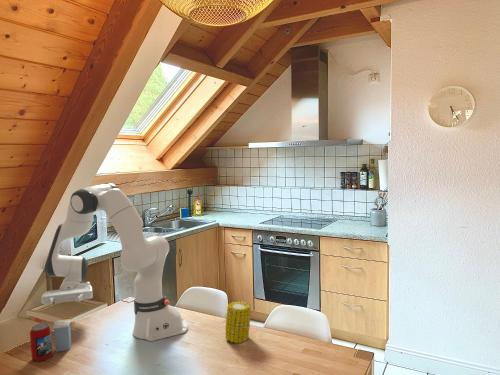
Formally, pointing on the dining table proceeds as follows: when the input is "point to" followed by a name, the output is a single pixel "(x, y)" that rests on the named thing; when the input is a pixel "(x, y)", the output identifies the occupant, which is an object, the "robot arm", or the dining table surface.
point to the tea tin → (62, 335)
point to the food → (238, 321)
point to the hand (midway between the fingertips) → (65, 301)
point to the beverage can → (41, 342)
